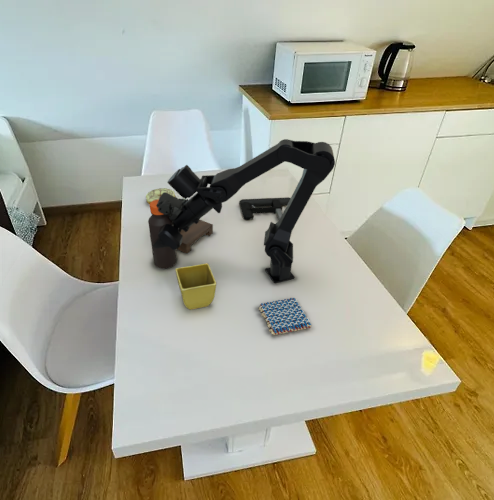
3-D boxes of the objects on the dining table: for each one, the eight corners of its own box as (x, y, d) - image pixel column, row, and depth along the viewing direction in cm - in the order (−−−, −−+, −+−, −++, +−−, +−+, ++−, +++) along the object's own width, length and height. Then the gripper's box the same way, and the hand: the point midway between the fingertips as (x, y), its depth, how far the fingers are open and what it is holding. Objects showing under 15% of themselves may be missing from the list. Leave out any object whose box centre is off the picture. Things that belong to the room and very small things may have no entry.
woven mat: (294, 300, 103) (295, 295, 101) (312, 329, 94) (313, 323, 93) (257, 307, 100) (257, 301, 99) (272, 338, 92) (273, 332, 91)
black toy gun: (302, 218, 133) (291, 194, 145) (244, 220, 131) (238, 196, 143) (301, 226, 135) (289, 201, 147) (244, 228, 133) (237, 204, 146)
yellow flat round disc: (148, 195, 150) (147, 186, 148) (176, 195, 151) (175, 186, 148) (144, 208, 142) (143, 199, 140) (174, 208, 142) (173, 199, 140)
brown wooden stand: (212, 233, 129) (212, 208, 123) (187, 253, 119) (185, 227, 114) (184, 222, 134) (183, 198, 129) (157, 241, 125) (154, 215, 119)
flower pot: (182, 317, 97) (181, 289, 92) (176, 294, 104) (174, 267, 99) (216, 310, 99) (217, 283, 94) (208, 288, 106) (208, 262, 101)
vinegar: (149, 262, 115) (140, 203, 104) (167, 252, 119) (161, 194, 107) (163, 272, 112) (156, 212, 100) (181, 262, 115) (176, 203, 104)
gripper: (182, 172, 108) (147, 203, 116) (163, 204, 93) (125, 237, 101) (209, 200, 112) (174, 228, 119) (196, 235, 97) (156, 265, 104)
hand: (158, 238), depth 111 cm, fingers open, 8 cm apart
